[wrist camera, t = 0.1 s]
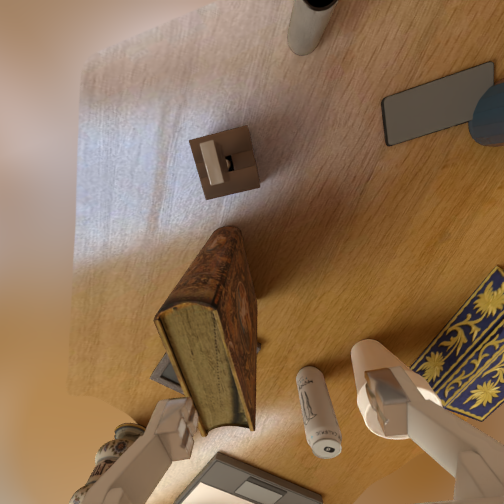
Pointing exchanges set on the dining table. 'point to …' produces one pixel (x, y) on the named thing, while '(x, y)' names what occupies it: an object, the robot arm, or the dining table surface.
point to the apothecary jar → (110, 455)
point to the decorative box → (470, 354)
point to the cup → (377, 357)
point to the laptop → (242, 486)
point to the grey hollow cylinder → (308, 24)
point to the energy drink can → (318, 414)
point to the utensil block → (242, 157)
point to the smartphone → (435, 104)
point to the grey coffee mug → (489, 117)
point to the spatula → (216, 162)
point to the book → (215, 333)
